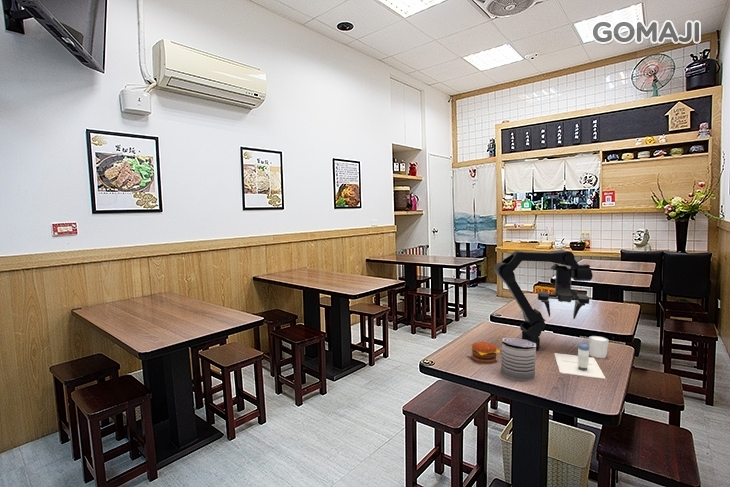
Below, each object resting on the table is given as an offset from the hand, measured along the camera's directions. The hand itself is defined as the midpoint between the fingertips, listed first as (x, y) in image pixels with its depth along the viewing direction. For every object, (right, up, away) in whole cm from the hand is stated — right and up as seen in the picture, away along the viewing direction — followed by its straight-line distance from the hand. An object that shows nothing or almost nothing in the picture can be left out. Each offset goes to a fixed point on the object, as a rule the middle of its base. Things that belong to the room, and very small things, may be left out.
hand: (561, 317), depth 161 cm
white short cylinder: (+11, -14, -7) cm, 19 cm away
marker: (-3, -15, -21) cm, 26 cm away
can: (-28, -15, -25) cm, 40 cm away
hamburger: (-36, -14, -11) cm, 40 cm away
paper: (-3, -15, -17) cm, 22 cm away
